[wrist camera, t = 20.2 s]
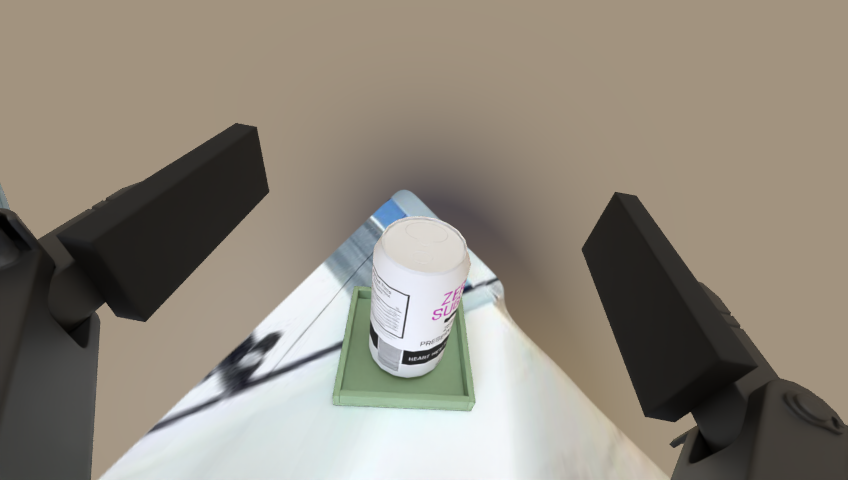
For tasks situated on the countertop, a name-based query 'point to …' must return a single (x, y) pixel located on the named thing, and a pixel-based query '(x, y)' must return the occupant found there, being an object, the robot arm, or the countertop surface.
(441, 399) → the can tray
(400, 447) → the countertop surface
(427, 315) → the supplement can
